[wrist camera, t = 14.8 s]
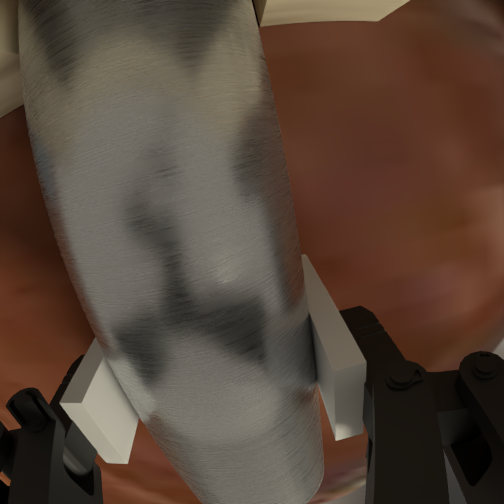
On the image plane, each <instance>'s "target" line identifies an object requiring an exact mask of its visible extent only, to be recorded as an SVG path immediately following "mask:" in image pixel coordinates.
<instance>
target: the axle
mask: <svg viewBox="0 0 504 504" xmlns="http://www.w3.org/2000/svg"><path fill="white" fill-rule="evenodd" d="M18 34H19V57H20V71H21V82H22V91H23V99H24V107H25V114H26V120H27V126H28V132H29V137H30V143H31V148H32V153H33V157H34V162H35V166H36V171H37V175H38V179H39V183H40V187H41V191H42V195H43V198H44V202H45V205H46V209H47V212H48V216H49V219H50V222H51V226H52V229H53V232H54V235H55V238H56V241H57V244H58V247H59V250H60V253H61V255H62V258H63V261H64V264H65V266H66V269H67V272H68V274H69V277H70V279H71V282H72V285H73V287H74V289H75V292H76V294H77V297H78V299H79V302H80V304H81V306H82V308H83V311H84V313H85V315H86V318H87V320H88V322H89V324H90V326H91V328H92V331H93V333H94V335H95V337H96V339H97V341H98V343H99V345H100V347H101V349H102V351H103V353H104V355H105V357H106V359H107V361H108V363H109V365H110V367H111V368H112V370H113V372H114V374H115V376H116V378H117V379H118V381H119V383H120V385H121V387H122V388H123V390H124V392H125V394H126V395H127V397H128V399H129V400H130V402H131V404H132V405H133V407H134V409H135V410H136V412H137V414H138V415H139V417H140V418H141V420H142V422H143V423H144V425H145V426H146V428H147V429H148V431H149V432H150V434H151V435H152V437H153V438H154V440H155V441H156V443H157V444H158V446H159V447H160V449H161V450H162V452H163V453H164V454H165V456H166V457H167V459H168V460H169V461H170V463H171V464H172V466H173V467H174V468H175V470H176V471H177V472H178V474H179V475H180V476H181V478H182V479H183V480H184V481H185V483H186V484H187V485H188V487H189V488H190V489H191V490H192V492H193V493H194V494H195V495H196V496H197V498H198V499H199V500H200V501H201V502H202V504H307V503H308V502H309V500H310V499H311V498H312V497H313V496H314V494H315V493H316V491H317V490H318V488H319V486H320V484H321V481H322V478H323V473H324V458H323V444H322V432H321V420H320V408H319V398H318V387H317V378H316V369H315V360H314V351H313V342H312V333H311V325H310V317H309V309H308V301H307V293H306V286H305V278H304V271H303V264H302V257H301V251H300V244H299V237H298V231H297V224H296V218H295V212H294V206H293V200H292V194H291V188H290V182H289V176H288V171H287V165H286V159H285V154H284V149H283V143H282V138H281V133H280V127H279V122H278V117H277V112H276V107H275V102H274V97H273V92H272V88H271V83H270V78H269V74H268V69H267V64H266V60H265V55H264V51H263V46H262V42H261V38H260V33H259V29H258V25H257V21H256V17H255V12H254V8H253V4H252V0H19V9H18Z"/></svg>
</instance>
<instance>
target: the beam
mask: <svg viewBox="0 0 504 504" xmlns="http://www.w3.org/2000/svg"><path fill="white" fill-rule="evenodd" d="M253 1H254V5H255V9H256V13H257V17H258V21H259V25H260V27H262V26H270V25H279V24H289V23H301V22H317V21H379V20H381V19H382V18H384V17H385V16H386V15H388V14H390V13H391V12H393V11H394V10H396V9H397V8H399V7H400V6H402V5H403V4H405V3H406V2H408V1H410V0H253ZM18 9H19V0H0V118H1V117H2V116H4V115H6V114H7V113H9V112H11V111H12V110H14V109H16V108H18V107H19V106H21V105H23V104H24V99H23V91H22V82H21V71H20V57H19V34H18Z"/></svg>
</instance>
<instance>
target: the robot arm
mask: <svg viewBox="0 0 504 504" xmlns="http://www.w3.org/2000/svg"><path fill="white" fill-rule="evenodd" d="M301 257H302V264H303V271H304V278H305V286H306V293H307V301H308V309H309V317H310V325H311V333H312V342H313V351H314V360H315V369H316V378H317V383H318V386H319V389H320V392H321V395H322V398H323V402H324V405H325V408H326V411H327V414H328V417H329V421H330V424H331V427H332V430H333V433H334V436H335V440H336V441H337V440H340V439H344V438H348V437H351V436H355V435H358V434H362V433H363V424H364V425H365V427H366V430H367V432H368V435H369V436H368V445H367V453H366V458H367V478H366V496H365V497H366V498H365V504H449V494H448V483H447V475H446V467H445V459H444V452H445V454H446V456H447V458H448V460H449V463H450V465H451V467H452V469H453V472H454V474H455V476H456V478H457V481H458V483H459V485H460V487H461V490H462V492H463V495H464V497H465V500H466V502H467V504H504V360H503V359H502V358H501V357H499V356H498V355H496V354H493V353H491V352H484V351H479V352H474V353H471V354H469V355H468V356H466V357H464V359H463V360H462V362H461V363H460V367H459V370H452V371H444V372H426V370H425V369H424V368H423V367H422V366H420V365H419V364H418V363H414V362H411V361H406V359H405V358H404V357H403V355H402V354H401V352H400V351H399V349H398V348H397V346H396V345H395V343H394V342H393V341H392V339H391V338H390V336H389V335H388V333H387V332H385V329H384V328H383V326H382V325H381V324H380V323H379V321H378V319H377V318H376V317H375V315H374V314H373V312H371V311H369V310H367V309H365V308H364V307H362V306H358V307H354V308H350V309H345V310H341V311H338V309H337V308H336V306H335V304H334V302H333V300H332V299H331V297H330V295H329V293H328V292H327V290H326V288H325V287H324V285H323V283H322V281H321V280H320V278H319V276H318V274H317V273H316V271H315V269H314V268H313V266H312V264H311V262H310V261H309V259H308V257H307V256H306V254H304V255H301ZM6 407H7V409H8V410H9V411H10V413H11V414H12V415H13V417H14V418H15V419H16V420H17V422H18V423H19V424H20V426H21V428H20V429H15V430H10V431H8V430H7V428H6V427H5V426H4V425H3V424H2V422H1V421H0V472H1V471H2V472H3V473H4V474H5V475H6V476H7V477H8V478H9V479H10V480H11V483H10V486H7V485H6V484H5V483H4V482H3V481H1V480H0V504H103V494H102V481H101V471H100V467H99V466H98V465H97V464H96V463H95V462H94V461H95V458H96V454H97V452H98V454H99V455H100V456H101V457H102V458H103V459H104V461H105V462H106V463H119V464H128V460H129V456H130V452H131V448H132V444H133V440H134V436H135V432H136V428H137V424H138V420H139V415H138V414H137V412H136V410H135V409H134V407H133V405H132V404H131V402H130V400H129V399H128V397H127V395H126V394H125V392H124V390H123V388H122V387H121V385H120V383H119V381H118V379H117V378H116V376H115V374H114V372H113V370H112V368H111V367H110V365H109V363H108V361H107V359H106V357H105V355H104V353H103V351H102V349H101V347H100V345H99V343H98V341H97V339H96V337H95V339H94V340H93V342H92V344H91V346H90V347H89V349H88V351H87V353H86V354H85V355H81V356H80V357H79V358H78V359H77V360H76V361H75V362H74V363H73V364H72V365H71V367H70V368H69V370H68V372H67V376H65V377H64V379H63V381H62V384H60V386H59V388H58V390H57V391H56V393H55V395H54V397H53V399H52V401H51V402H50V404H48V403H47V402H46V400H45V399H44V397H43V396H42V394H41V393H40V391H39V390H38V389H36V388H26V389H23V390H20V391H19V392H17V393H16V394H14V395H13V396H12V397H11V398H10V399H9V401H8V403H7V405H6ZM443 449H444V452H443Z"/></svg>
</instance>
